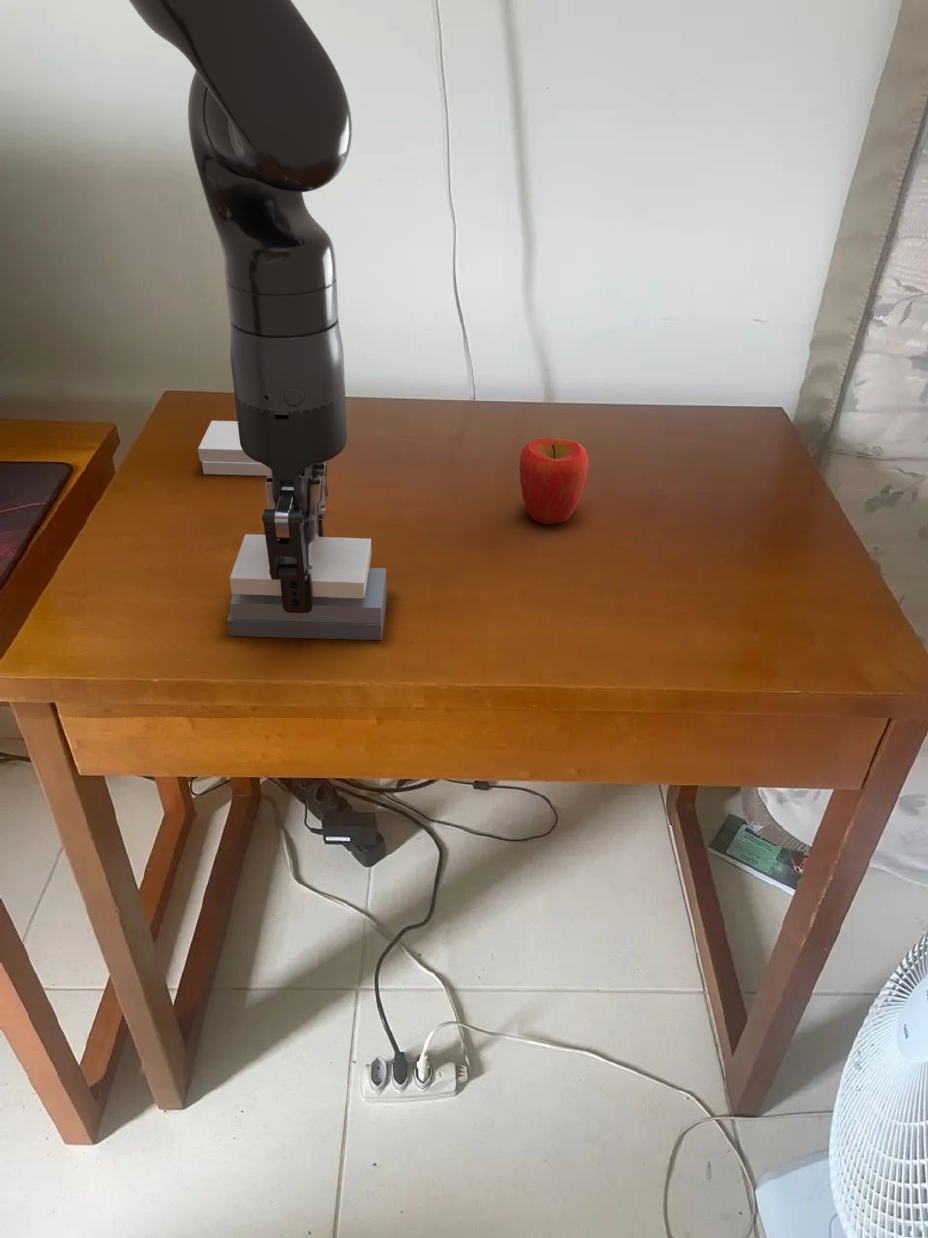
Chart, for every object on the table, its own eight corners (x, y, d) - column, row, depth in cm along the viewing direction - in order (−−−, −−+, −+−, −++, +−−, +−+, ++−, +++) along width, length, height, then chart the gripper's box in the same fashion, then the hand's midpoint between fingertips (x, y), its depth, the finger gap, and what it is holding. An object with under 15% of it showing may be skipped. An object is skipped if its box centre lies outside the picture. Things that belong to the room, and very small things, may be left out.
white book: (231, 594, 74) (229, 577, 73) (247, 549, 79) (245, 533, 78) (364, 598, 74) (363, 582, 73) (371, 554, 79) (371, 538, 78)
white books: (201, 474, 97) (197, 448, 96) (214, 444, 102) (211, 420, 101) (304, 477, 98) (302, 451, 96) (312, 447, 103) (310, 423, 101)
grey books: (228, 636, 77) (223, 603, 75) (242, 595, 81) (238, 563, 79) (381, 640, 77) (380, 608, 75) (386, 599, 81) (386, 567, 80)
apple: (562, 494, 96) (569, 424, 92) (594, 525, 92) (603, 452, 87) (505, 506, 94) (509, 435, 90) (534, 538, 90) (540, 465, 85)
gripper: (253, 342, 73) (272, 534, 83) (211, 427, 61) (239, 639, 71) (355, 345, 73) (361, 537, 83) (331, 432, 61) (342, 643, 71)
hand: (304, 584), depth 77 cm, fingers closed on white book, 6 cm apart
